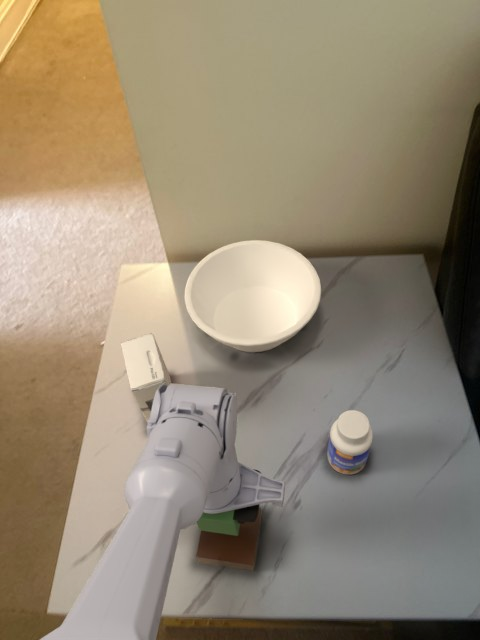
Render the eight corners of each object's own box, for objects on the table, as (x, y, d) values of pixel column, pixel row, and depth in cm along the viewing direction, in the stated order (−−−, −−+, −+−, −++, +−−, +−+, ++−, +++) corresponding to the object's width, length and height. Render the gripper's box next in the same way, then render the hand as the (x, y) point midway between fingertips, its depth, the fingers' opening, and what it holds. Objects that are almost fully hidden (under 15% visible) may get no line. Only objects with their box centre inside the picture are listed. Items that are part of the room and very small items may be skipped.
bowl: (305, 386, 85) (306, 356, 78) (174, 361, 89) (165, 330, 83) (329, 282, 97) (331, 249, 90) (212, 265, 101) (207, 231, 95)
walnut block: (254, 571, 69) (253, 565, 67) (199, 563, 70) (195, 556, 68) (262, 515, 73) (261, 507, 71) (209, 508, 74) (207, 500, 72)
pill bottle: (329, 476, 76) (334, 446, 68) (324, 439, 79) (328, 406, 71) (370, 474, 76) (379, 443, 68) (363, 437, 79) (371, 403, 71)
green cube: (238, 536, 64) (234, 523, 60) (199, 530, 64) (193, 517, 61) (244, 497, 66) (241, 482, 63) (207, 492, 67) (202, 477, 63)
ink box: (138, 384, 87) (119, 340, 77) (169, 375, 88) (154, 330, 78) (149, 433, 82) (130, 392, 72) (182, 422, 82) (168, 380, 73)
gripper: (287, 435, 55) (288, 486, 66) (146, 418, 57) (169, 470, 68) (279, 505, 51) (281, 548, 62) (127, 485, 53) (154, 529, 64)
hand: (221, 511), depth 65 cm, fingers closed on green cube, 4 cm apart
